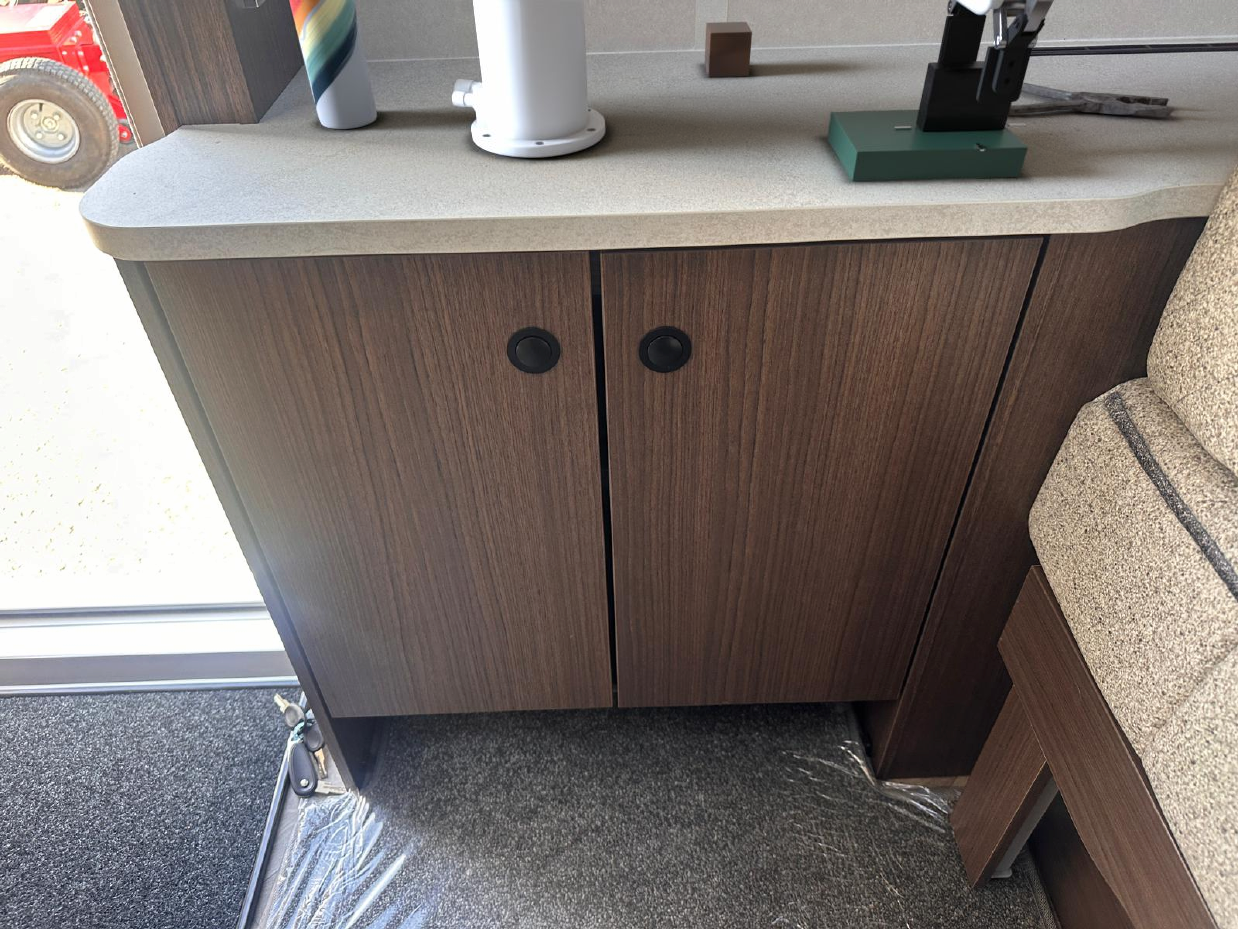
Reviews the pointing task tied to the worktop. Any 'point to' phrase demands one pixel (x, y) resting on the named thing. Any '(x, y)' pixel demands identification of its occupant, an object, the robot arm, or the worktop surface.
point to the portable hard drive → (957, 100)
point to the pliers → (1093, 103)
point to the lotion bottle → (335, 62)
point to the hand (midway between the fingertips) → (975, 82)
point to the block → (727, 49)
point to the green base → (920, 148)
